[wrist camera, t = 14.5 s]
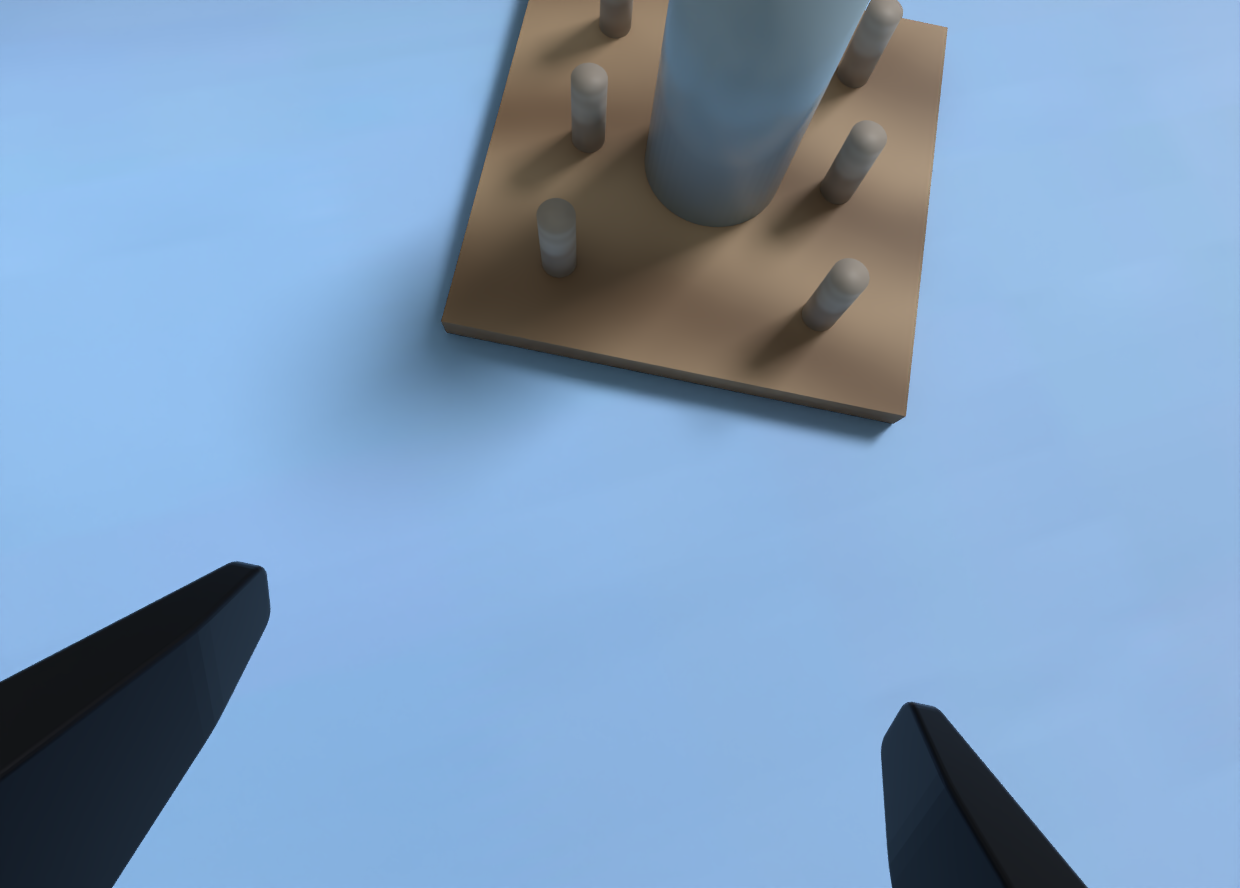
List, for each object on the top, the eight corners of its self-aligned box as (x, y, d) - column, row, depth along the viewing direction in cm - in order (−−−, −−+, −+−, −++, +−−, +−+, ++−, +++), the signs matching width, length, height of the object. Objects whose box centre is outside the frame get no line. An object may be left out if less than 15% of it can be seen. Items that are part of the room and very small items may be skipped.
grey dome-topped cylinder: (804, 148, 26) (939, -121, 17) (738, 252, 25) (842, 27, 16) (688, 81, 27) (754, -221, 17) (618, 181, 26) (645, -82, 16)
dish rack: (893, 423, 25) (950, 389, 21) (446, 332, 25) (421, 281, 21) (935, 47, 29) (990, -41, 25) (545, -35, 29) (539, -135, 25)
